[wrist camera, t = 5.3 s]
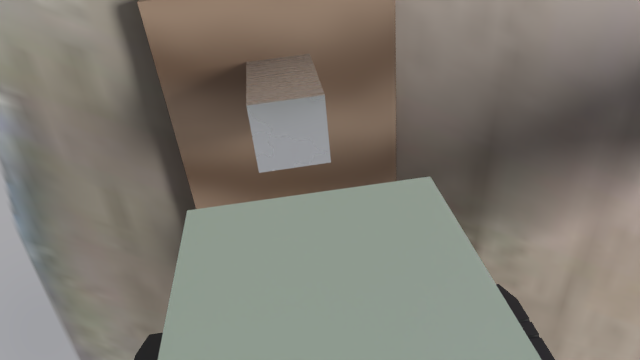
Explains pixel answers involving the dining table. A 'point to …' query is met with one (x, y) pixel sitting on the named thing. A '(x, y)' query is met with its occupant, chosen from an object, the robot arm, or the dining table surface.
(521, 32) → the dining table surface
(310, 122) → the steel post
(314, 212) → the sage cap
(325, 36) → the walnut board
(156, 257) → the dining table surface
